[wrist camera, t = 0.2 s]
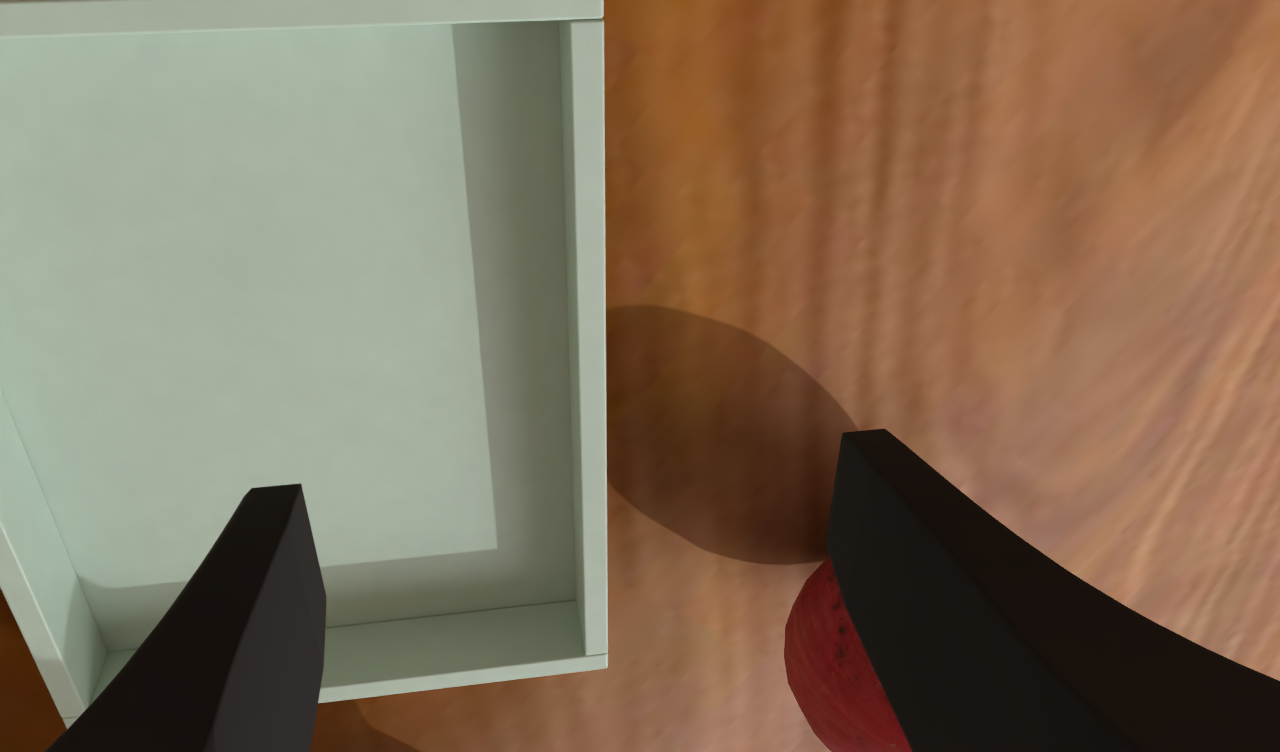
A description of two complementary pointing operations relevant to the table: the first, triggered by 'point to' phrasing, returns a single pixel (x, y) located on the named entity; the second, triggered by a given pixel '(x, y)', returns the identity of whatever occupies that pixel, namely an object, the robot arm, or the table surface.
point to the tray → (307, 324)
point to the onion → (836, 673)
